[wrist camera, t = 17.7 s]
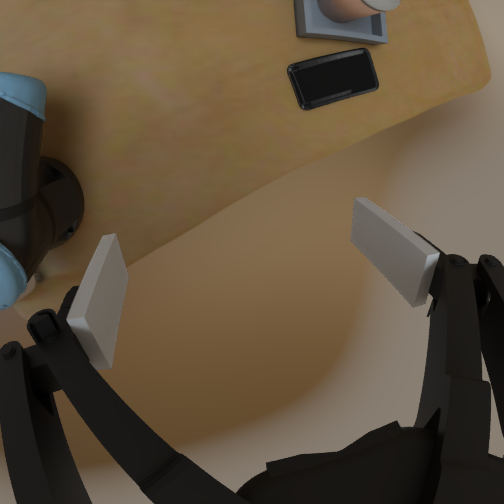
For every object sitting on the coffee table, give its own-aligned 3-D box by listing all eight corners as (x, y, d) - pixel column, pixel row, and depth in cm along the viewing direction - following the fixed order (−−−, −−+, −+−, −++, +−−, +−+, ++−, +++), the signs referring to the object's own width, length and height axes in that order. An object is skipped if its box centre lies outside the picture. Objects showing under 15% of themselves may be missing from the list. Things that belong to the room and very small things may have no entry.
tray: (296, 36, 37) (306, 32, 34) (290, -32, 31) (298, -41, 27) (374, 45, 39) (387, 43, 36) (367, -19, 33) (380, -25, 29)
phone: (286, 65, 39) (367, 46, 39) (284, 66, 40) (364, 47, 40) (303, 112, 43) (380, 89, 43) (300, 112, 44) (377, 89, 44)
